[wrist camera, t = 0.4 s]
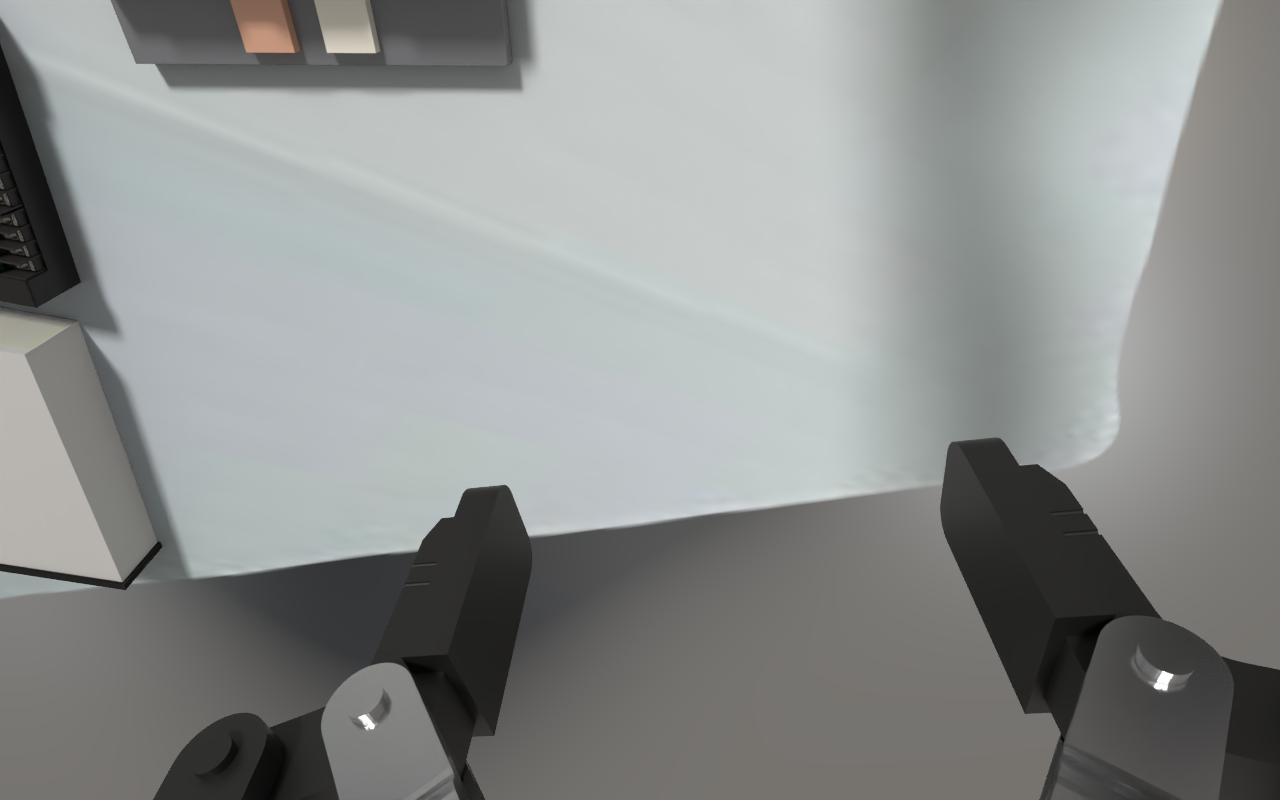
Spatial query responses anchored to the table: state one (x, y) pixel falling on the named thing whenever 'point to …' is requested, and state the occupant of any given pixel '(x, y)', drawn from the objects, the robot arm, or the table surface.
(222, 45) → the keypad
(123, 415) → the table surface
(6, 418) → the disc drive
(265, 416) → the table surface
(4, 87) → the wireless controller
